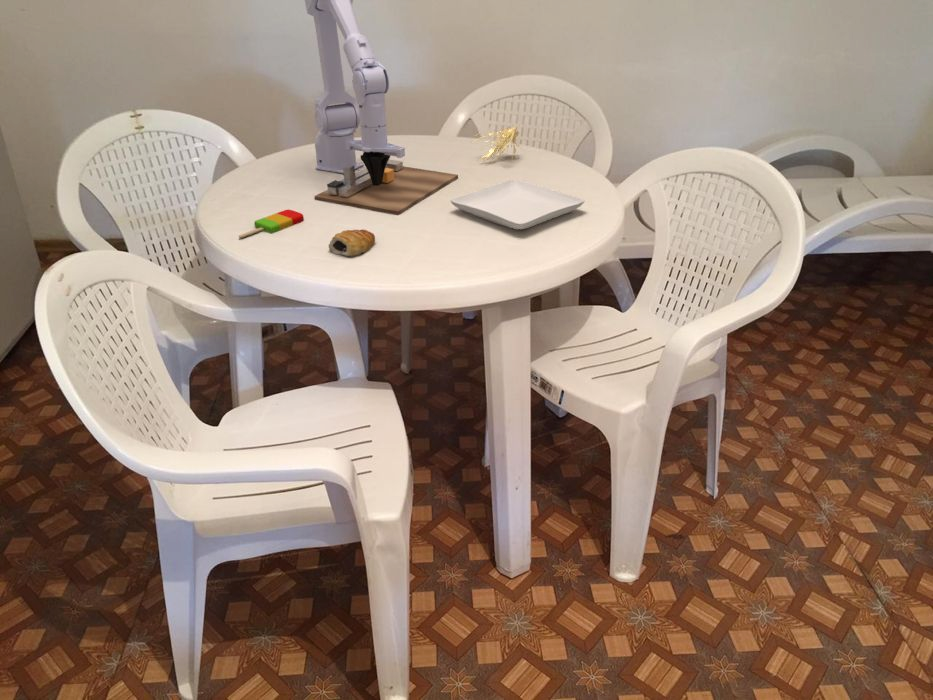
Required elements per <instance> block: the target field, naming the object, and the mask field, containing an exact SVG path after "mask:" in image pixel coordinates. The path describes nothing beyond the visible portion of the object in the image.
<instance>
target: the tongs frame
mask: <svg viewBox="0 0 933 700" xmlns="http://www.w3.org/2000/svg"><path fill="white" fill-rule="evenodd" d="M386 166H387V168H390V169H394V171H398V170H400V169H402V168H403V166H404V161H402V160H396V159H389V160H388V162H387V165H386ZM367 174H369V172H368V170H367V168H366V167H365V168H363V169H361V170H359V171H358V172H355V180H357V179H359V178H361V177H363V176H365V175H367ZM326 186H327V190H328V194H333V195H338V194H339V188H341V187H343V186H345V182H344V178H342V179H341V180H334V181H331V182H328V183H327V185H326Z"/></svg>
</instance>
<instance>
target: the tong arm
mask: <svg viewBox="0 0 933 700" xmlns="http://www.w3.org/2000/svg"><path fill="white" fill-rule="evenodd" d="M385 168H387V166H386V167H385ZM389 169H390V168H389ZM343 171H344V173H343V179H344V182H345V186H343V187H341V188H339V196H344V197H349V196H351V195H353V194H354V193H356V192H358V191H360V190H362V189H364V188H366V187H368V186H370V185H372V181H371V178H370V175H369V174H367V175H365V176H363V177H361V178H359V179H357V180H355V173H356V169H354V166H353V165H347V166H344V167H343Z"/></svg>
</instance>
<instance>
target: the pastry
mask: <svg viewBox="0 0 933 700" xmlns="http://www.w3.org/2000/svg"><path fill="white" fill-rule="evenodd" d="M375 242H376V236H375V234H374V233H373V232H371V231H369V230H367V229H363V228H362V229H352V230H348V229H347V230H342V231H341V232H338V233H335V235H334V236H333V237H332V239H330V241H329V244H328V250H330V252H331V253H333V254H335V255H340V256H344V257H356V256H360V255H361V254H362V253H366V252H367V251H368V250H370V248H372V247H373V246H374V245H375Z"/></svg>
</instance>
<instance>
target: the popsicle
mask: <svg viewBox="0 0 933 700" xmlns="http://www.w3.org/2000/svg"><path fill="white" fill-rule="evenodd" d="M304 221H305V218H304V214H303V213H302V212H298V211H296V210H292V209H284V210H281V211H279V212H276V213H273V214H271V215H268V216H266V217H262V218H260V219H257V220H254V228H255V229H253V230H251V231H248V232H245V233H242V234H238V238H240V239H243V238H245V237H248V236H251V235H254V234H257V233H259V232H266V233H269V234H274V233H277V232H280V231H282V230H285V229H287V228H290V227H293V226H295V225H298V224H300V223H303V222H304Z"/></svg>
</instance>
